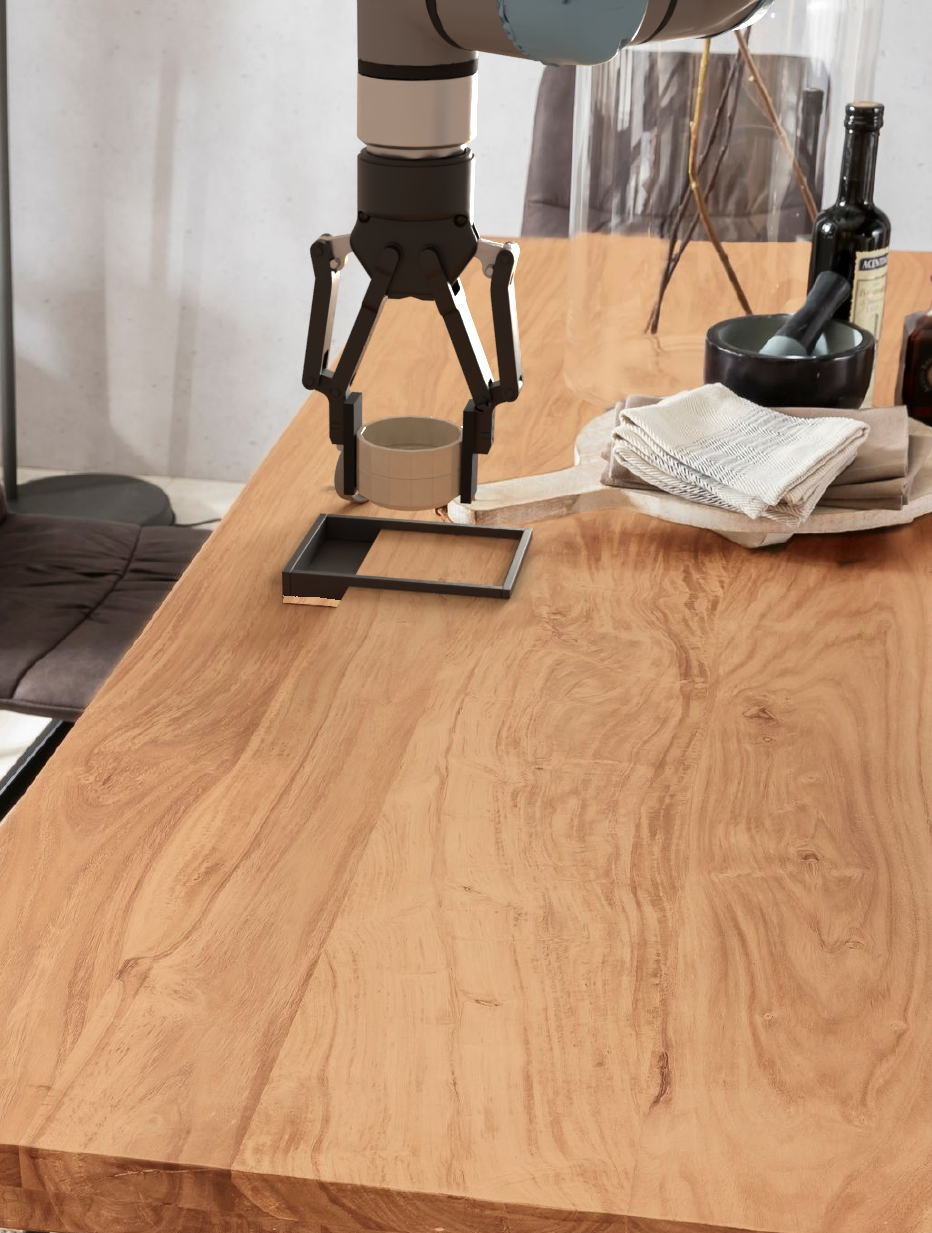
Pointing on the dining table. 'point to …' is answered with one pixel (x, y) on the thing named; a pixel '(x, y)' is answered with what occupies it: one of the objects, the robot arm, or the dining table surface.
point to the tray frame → (347, 539)
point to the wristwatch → (340, 480)
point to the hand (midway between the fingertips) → (410, 492)
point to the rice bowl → (409, 462)
